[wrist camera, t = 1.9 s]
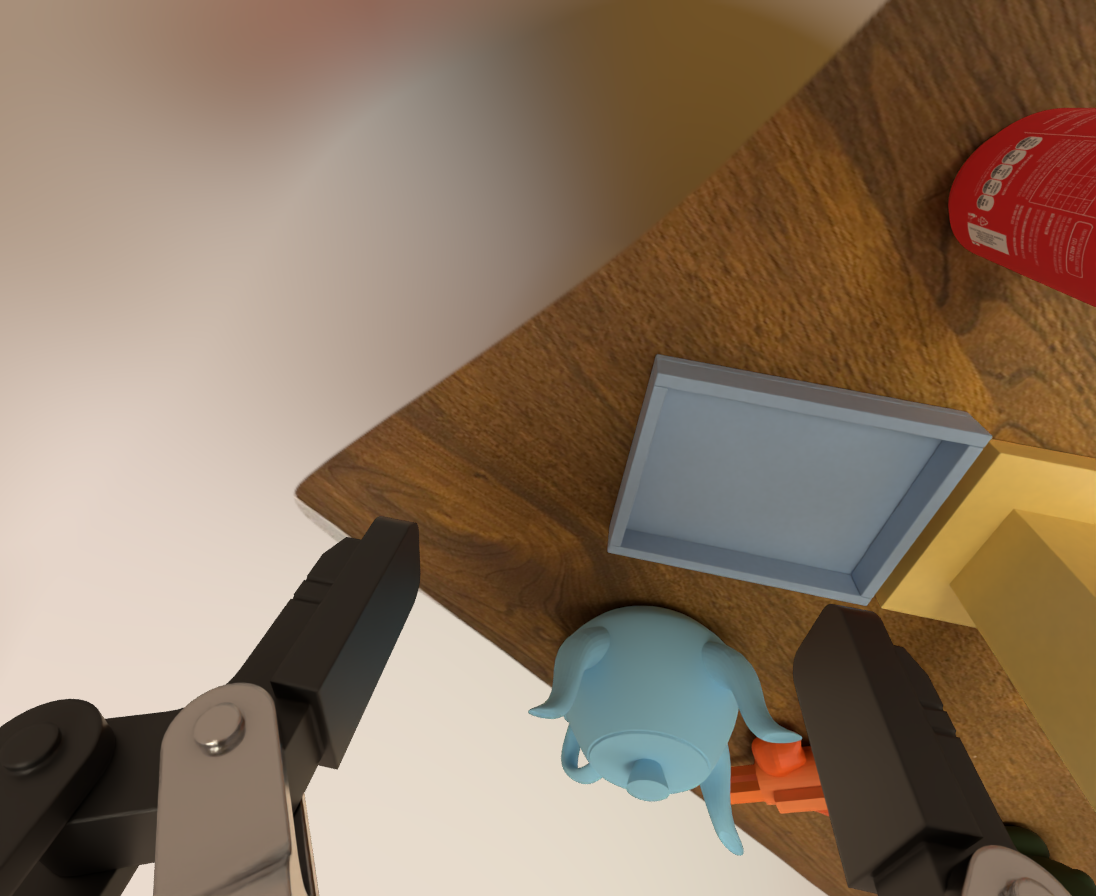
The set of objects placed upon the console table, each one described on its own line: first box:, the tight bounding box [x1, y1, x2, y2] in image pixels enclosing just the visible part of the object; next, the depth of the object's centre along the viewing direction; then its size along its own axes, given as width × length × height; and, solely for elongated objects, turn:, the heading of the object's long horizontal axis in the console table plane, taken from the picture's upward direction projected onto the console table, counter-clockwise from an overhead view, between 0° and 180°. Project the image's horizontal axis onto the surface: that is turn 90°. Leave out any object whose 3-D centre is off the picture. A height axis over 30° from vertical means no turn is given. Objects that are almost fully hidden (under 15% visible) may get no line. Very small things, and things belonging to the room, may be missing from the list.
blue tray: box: [607, 354, 992, 606], centre depth 29 cm, size 12×16×2 cm
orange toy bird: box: [730, 731, 829, 816], centre depth 42 cm, size 5×8×12 cm
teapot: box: [528, 606, 802, 855], centre depth 36 cm, size 15×15×10 cm
